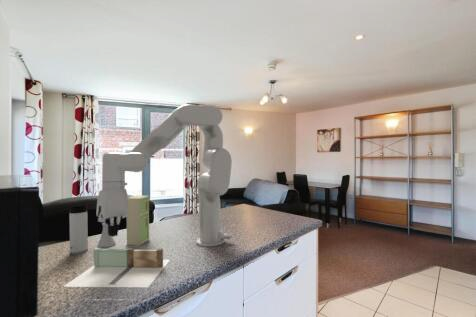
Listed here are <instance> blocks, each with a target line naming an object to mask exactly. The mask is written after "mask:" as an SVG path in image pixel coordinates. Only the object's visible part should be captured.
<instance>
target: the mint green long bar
mask: <svg viewBox="0 0 476 317" xmlns="http://www.w3.org/2000/svg"><path fill="white" fill-rule="evenodd" d="M128 249H129V248H99V247H96V248H94V249H93V266H94V267H99V266H128Z"/></svg>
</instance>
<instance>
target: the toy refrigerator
mask: <svg viewBox="0 0 476 317" xmlns="http://www.w3.org/2000/svg"><path fill="white" fill-rule="evenodd" d="M149 198H150V197H149V195H133V196H130V197H128V212H127V217H126V245H128V246H141V245H143V244H145V243H147V242H148V241H150V203H149V202H150V200H149Z"/></svg>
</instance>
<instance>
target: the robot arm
mask: <svg viewBox="0 0 476 317" xmlns="http://www.w3.org/2000/svg"><path fill="white" fill-rule="evenodd" d="M223 116H224V115H223V113H222V110H221V109H220V108H219V107H217V106H215V105H205V104H183V105H180V106H179V107H177V108H175V109H174V110H172V112H171V113H169V115H167V116H166V117H164V119H163V120H162V121H160V123H159V124H158V125H157V126H156V127H154V129H152V130H151V131H150V132H149V133H148V134H147V135H146V137H145V138H143V139H142V140H141V141H140V142H139V143H138V144H137V145H136V146H134V148H133V149H132V150H130V151H129V152H126V153H123V152H105V153H104V154H102V160H101V161H102V162H101V163H102V168H101V169H102V171H101V175H102V177H101V181H102V182H101V190H99V192H98V195H97V200H96V201H97V202H96V217H97V222H99V223H106V224H107V225H108V235H109V236H113V238H114V237H117V236H118V234H119V225H120V224H121V222H122V220H123V219H124V218H127V212H128V198H129V197H128V192H127V189H126V186H127V185H128V182H127V181H126V178H125V176H126V172H133V173H140V172H143V171H144V170H146V168H147V167H148V165H149V164H148V163H149V161H148V160H149V159H151V158H152V157H153V156H154V155H155V154H157V153H158V152H159V151H161V150H163V149H165V148H166V147H168V146H169V145H170V144H171V143H172V142H173V141H175V139H176V138H177V137H178V136H179V135H180V134H181V133H182V132H183V131H184V130H185V129H186V128H187V127H189V126H197V127H198V128H199V129H200V130H201V131H202V133H203V137H204V142H203V150H202V159H201V160H202V165H203V166H204V167H205V169H207V170H209V172H208V171H207V172H204V173H202V174H201V175H200V176H199V177H198V179H197V184H196V187H197V193H198V201H199V202H198V205H199V207H198V208H199V209H198V210H199V212H198V215H199V219H198V220H199V237H198V238H197V239H196V244H197V246H200V247H206V248H210V247H213V248H214V247H218V246H221V245H223V244H224V243H225V240H231V239H232V238H231V236H232V235H231V234H229V233H223V230H222V227H221V225H222V222H221V221H222V220H221V218H222V217H221V199H220V198H221V196H223V195H225V194H226V193H227V192H228V190H229V188H230V183H231V174H232V173H231V172H232V156H231V153H230V152H229V151H228V150H227V149H226V148H224V147H223V146H224V134H223V131H222V129H221V127H220V124H221V123H222V121H223Z"/></svg>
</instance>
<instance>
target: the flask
mask: <svg viewBox="0 0 476 317" xmlns="http://www.w3.org/2000/svg"><path fill="white" fill-rule="evenodd" d="M101 225H102V230H101V231H102V232H101V234H100V239H99V241H98V244H97V248H101V249H106V248H110V247H113V246H115V245H116V241H115V239H114V237H113V236H109V235H108V225H107V224H106V223H105V222H101Z"/></svg>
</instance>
